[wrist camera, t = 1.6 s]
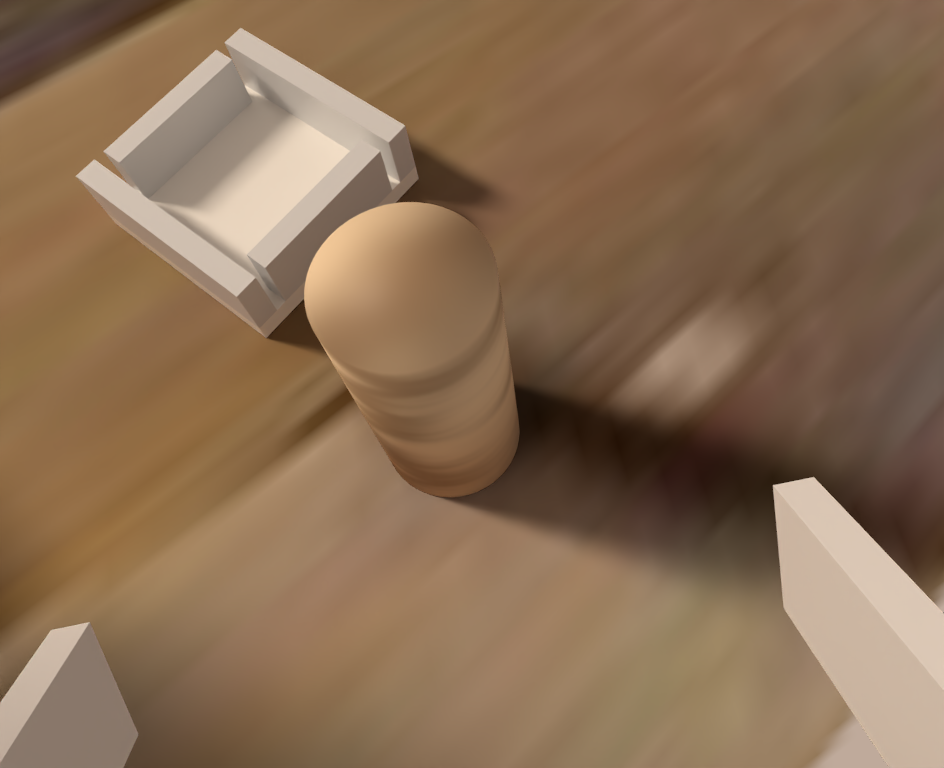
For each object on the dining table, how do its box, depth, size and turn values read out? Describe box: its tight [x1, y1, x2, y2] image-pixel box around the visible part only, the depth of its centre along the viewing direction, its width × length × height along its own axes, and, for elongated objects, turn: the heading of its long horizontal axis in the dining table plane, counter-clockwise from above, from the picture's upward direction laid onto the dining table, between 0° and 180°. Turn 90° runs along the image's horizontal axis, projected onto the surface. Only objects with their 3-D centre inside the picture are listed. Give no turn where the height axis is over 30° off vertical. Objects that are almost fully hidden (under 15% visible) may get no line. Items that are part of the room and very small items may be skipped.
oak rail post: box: [304, 202, 520, 497], centre depth 31 cm, size 6×6×13 cm
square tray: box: [76, 28, 419, 338], centre depth 42 cm, size 11×11×4 cm
